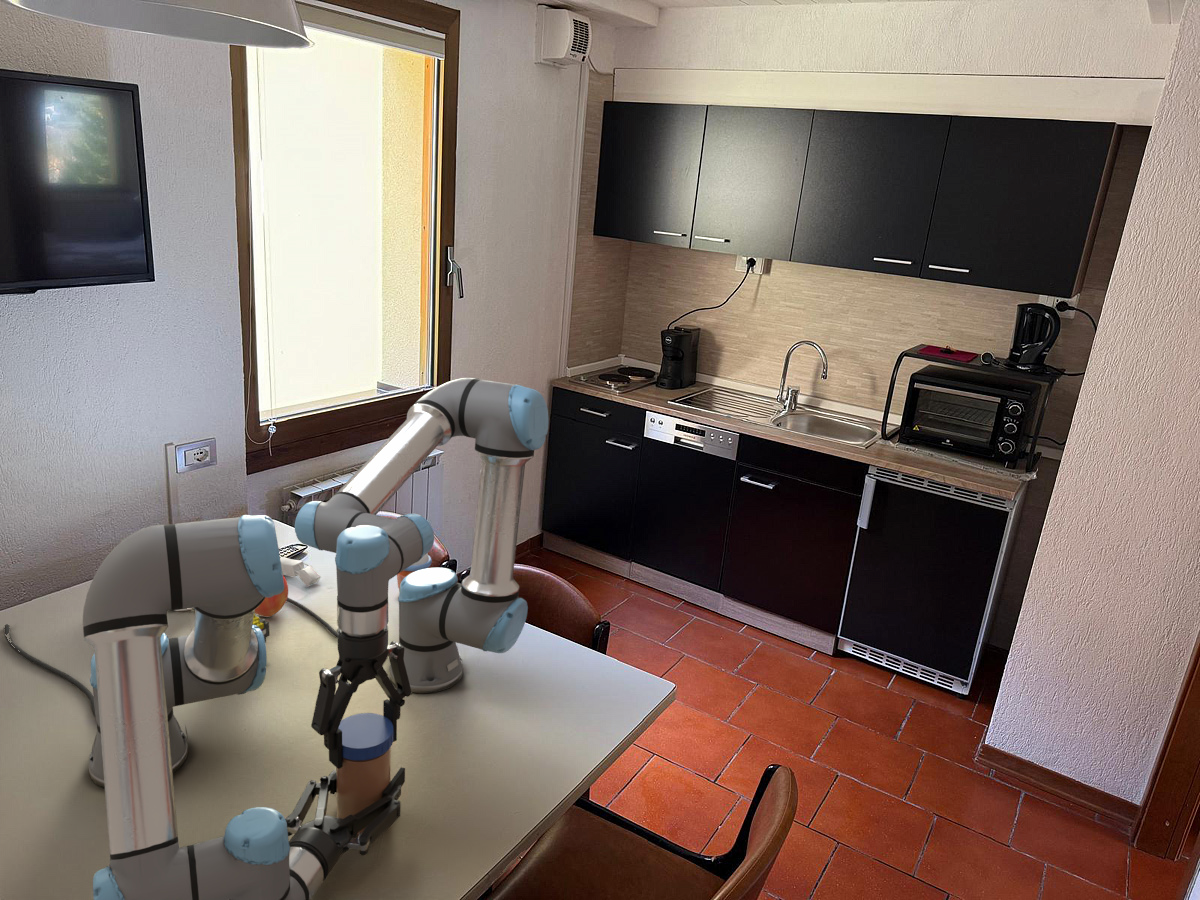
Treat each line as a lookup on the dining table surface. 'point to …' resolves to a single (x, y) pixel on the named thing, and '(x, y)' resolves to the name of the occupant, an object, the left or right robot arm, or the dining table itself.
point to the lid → (366, 736)
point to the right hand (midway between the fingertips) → (363, 750)
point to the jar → (361, 783)
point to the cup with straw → (414, 568)
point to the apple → (273, 603)
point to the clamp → (299, 570)
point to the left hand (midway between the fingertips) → (377, 768)
